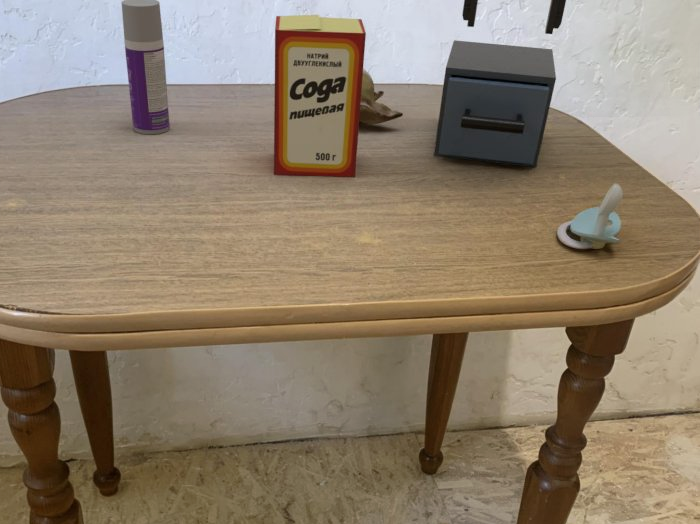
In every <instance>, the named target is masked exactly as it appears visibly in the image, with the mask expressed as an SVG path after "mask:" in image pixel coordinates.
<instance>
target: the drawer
mask: <svg viewBox="0 0 700 524" xmlns="http://www.w3.org/2000/svg"><path fill="white" fill-rule="evenodd" d="M548 94H549V87H546V86H542V84H540V83H530V82H520V81H510V80H500V79H489V78H479V77H469V76H459V75H456V78H454V77H450V78H449V82H448V89H447V96H446V104H445V111H444V118H443V125H442V132H441V139H440V146H439V154H444V155H453V156H462V157H471V158H479V159H488V160H497V161H506V162H515V163H524V164H533V162H534V158H535V153H536V149H537V144H538V139H539V135H540V130H541V126H542V121H543V117H544V112H545V107H546V103H547V98H548Z"/></svg>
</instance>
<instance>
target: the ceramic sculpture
mask: <svg viewBox="0 0 700 524" xmlns="http://www.w3.org/2000/svg"><path fill="white" fill-rule="evenodd" d="M384 94H385V92H384V91H382V90H378V91H375V83H374V80H373V77H372V76H371V75H370V73H369V72H368V71H367V70H366V69H365V68H363V77H362V91H361V104H360V117H359V122H361V123H363V124H369V125H377V124H382V123H387V122H389V121H393V120H395V119H398V118H401V117H403V115H404V113H403V112H400V111H395V110H392V109H391V108H390V107H389V106H387V105H386V104H384V103H380V102H377V100H379V99H381V97H383V96H384Z"/></svg>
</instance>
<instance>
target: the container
mask: <svg viewBox="0 0 700 524" xmlns="http://www.w3.org/2000/svg"><path fill="white" fill-rule="evenodd" d="M121 13H122V14H121V15H122V25H123V41H124V51H125V60H126V61H125V62H126V71H127V81H128V90H129V100H130V111H131V121H132V127H133V128H132V129H133V131H134V132H136V133H137V134H142V135H160V134H163V133H166V132H168V131H169V130H170V114H169V100H168V86H167V85H168V84H167V71H166V57H165V46H164V45H165V44H164V33H163V25H162V16H161V15H162V14H161V4H160V1H158V0H122V1H121Z"/></svg>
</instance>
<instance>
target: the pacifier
mask: <svg viewBox="0 0 700 524" xmlns="http://www.w3.org/2000/svg"><path fill="white" fill-rule="evenodd" d="M623 195H624V194H623V189H622V187H621V186H620V185H619V184H618V183H613V184H612V186H611V187H610V188H609V189H608V191H607V192H606V194H605V197H604V198H603V200H602V202H601V204H600V206H595V207H590V208H587V209H584V210H583V211H581V212H579V213H578V214H576V215H575V217H574V218H573V219H572V220H568V221H565V222H563V223H562V224H561V225H559V227H558V229H557V230H556V231H557V232H556V235H557V238H558V240H559V241H560V242H561V243H562V244H564V245H565V246H566V247H569V248H573V249H577V250H587V249H594V250H599V249H603V248H604V247H605V246H606V244H619V242H620V239H619V238H617V237H616V236H617V235H618V234H619V232H620V230H621V227H622V222H621V218H620V216H619V215H618V214H617V212H615V211H616V210H617V209H618V208H619V206H620V204H621V203H622V201H623ZM608 223H610V225H608ZM569 230H570V231H571V233H572V234H574V235H577V236H579V237H580V241H579V240H575V239H573V238H571V237H570V236H569V235H568V234H567V232H568V231H569Z"/></svg>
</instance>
